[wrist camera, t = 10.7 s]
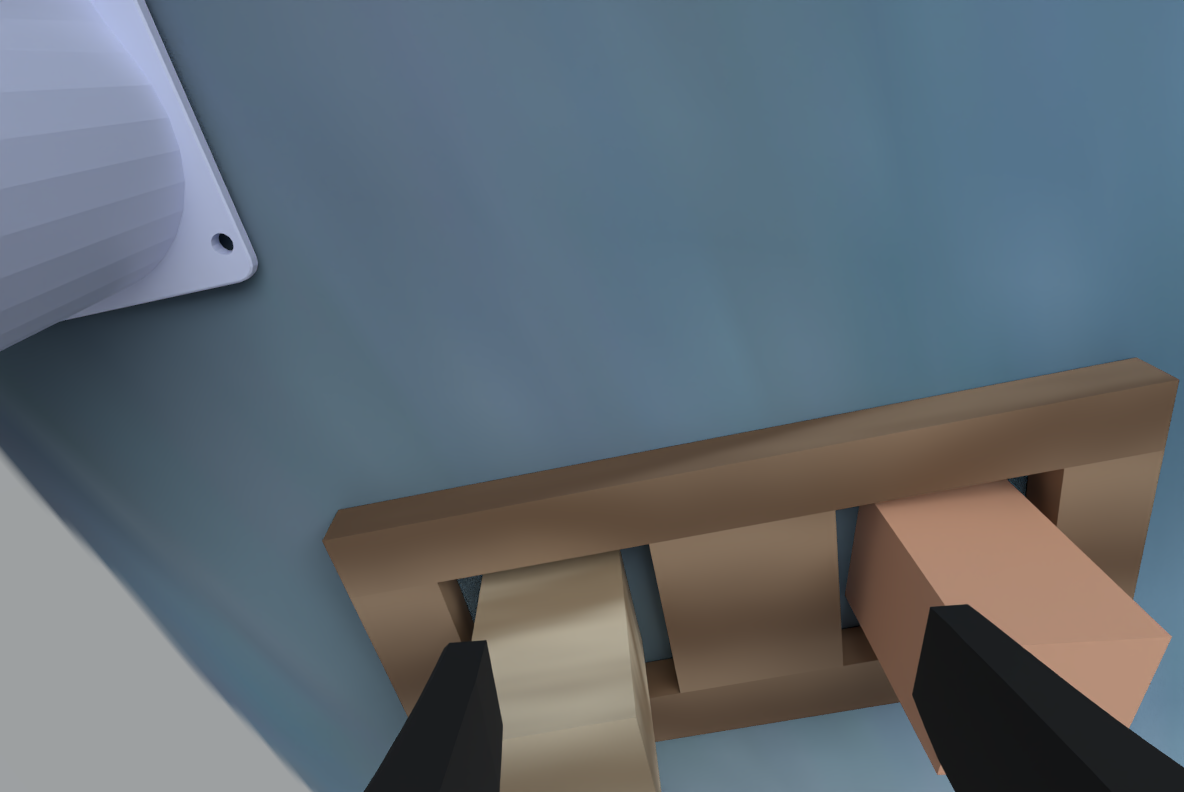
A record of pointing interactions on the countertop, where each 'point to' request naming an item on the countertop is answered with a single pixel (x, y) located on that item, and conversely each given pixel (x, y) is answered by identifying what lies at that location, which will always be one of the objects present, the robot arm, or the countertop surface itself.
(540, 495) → the puzzle board
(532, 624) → the maple block
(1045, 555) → the terracotta block
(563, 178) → the countertop surface
